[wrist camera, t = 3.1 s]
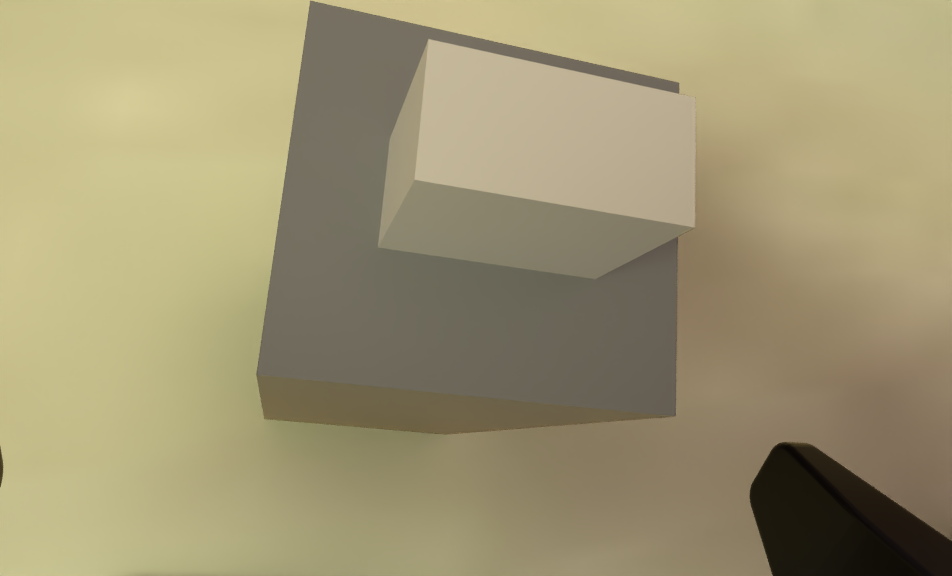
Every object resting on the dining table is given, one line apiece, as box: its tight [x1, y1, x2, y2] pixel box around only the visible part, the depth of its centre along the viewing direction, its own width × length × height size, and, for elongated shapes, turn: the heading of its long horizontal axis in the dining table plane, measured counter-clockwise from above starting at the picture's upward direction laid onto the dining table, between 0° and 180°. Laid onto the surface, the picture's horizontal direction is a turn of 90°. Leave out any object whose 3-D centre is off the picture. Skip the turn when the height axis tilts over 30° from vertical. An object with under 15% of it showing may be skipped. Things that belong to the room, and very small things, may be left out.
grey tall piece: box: [257, 1, 696, 434], centre depth 12 cm, size 4×4×13 cm
